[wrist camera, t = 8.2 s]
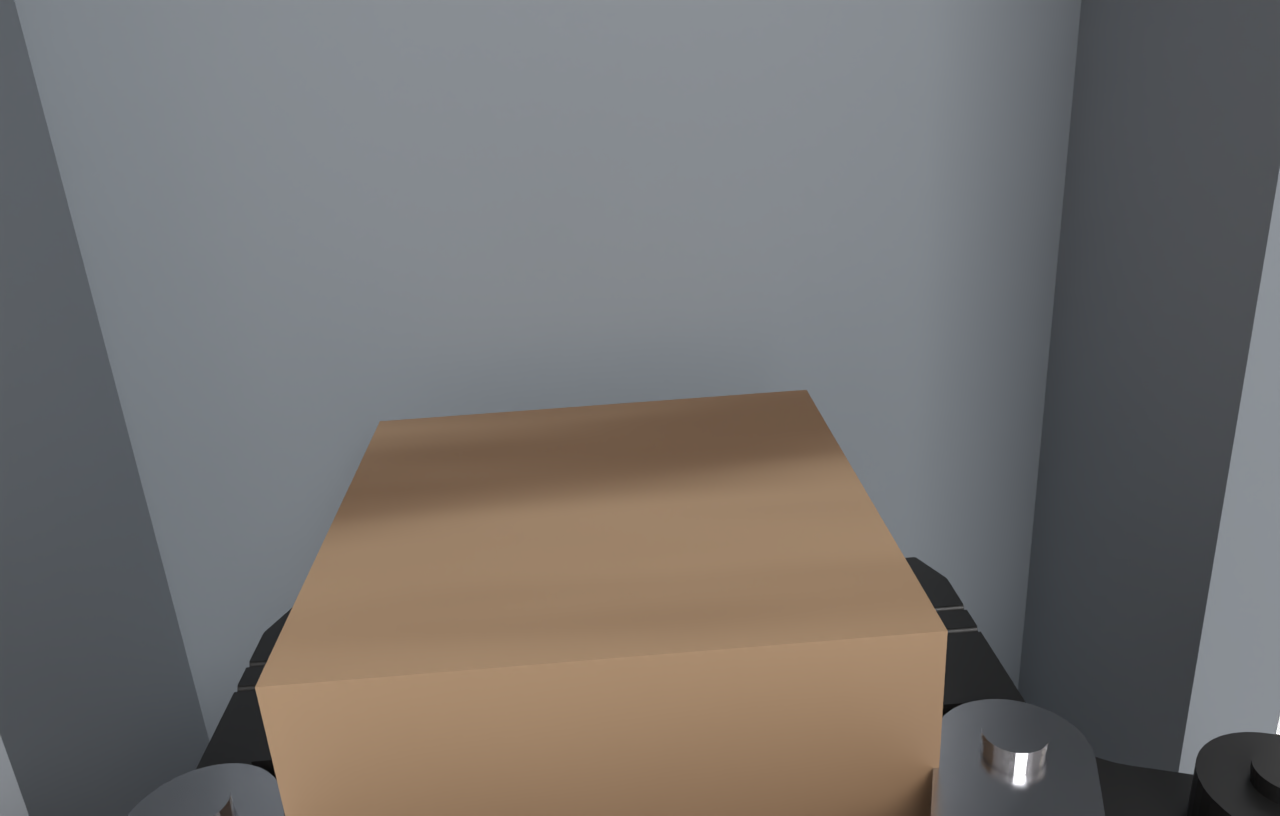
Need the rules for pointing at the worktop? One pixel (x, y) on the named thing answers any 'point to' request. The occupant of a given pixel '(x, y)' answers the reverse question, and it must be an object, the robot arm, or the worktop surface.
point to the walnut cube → (608, 624)
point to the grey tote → (636, 315)
